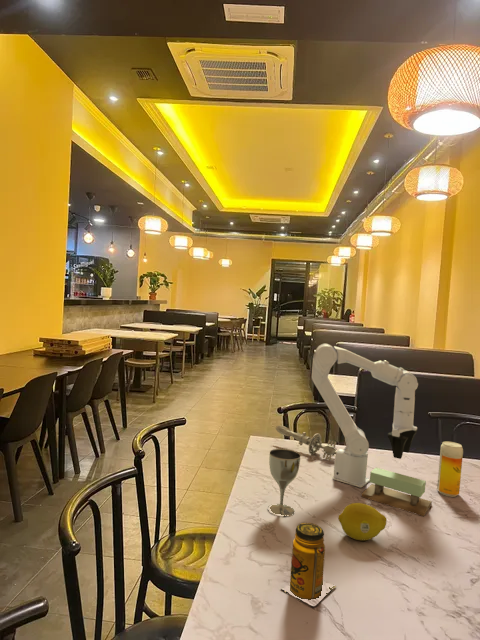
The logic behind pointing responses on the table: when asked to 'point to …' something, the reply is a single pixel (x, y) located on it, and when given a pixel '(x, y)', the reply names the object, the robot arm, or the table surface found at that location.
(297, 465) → the wine glass
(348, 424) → the robot arm
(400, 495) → the peg base
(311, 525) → the condiment
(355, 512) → the lemon
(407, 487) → the shelf board
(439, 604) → the table surface
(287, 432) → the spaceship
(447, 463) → the beer can
